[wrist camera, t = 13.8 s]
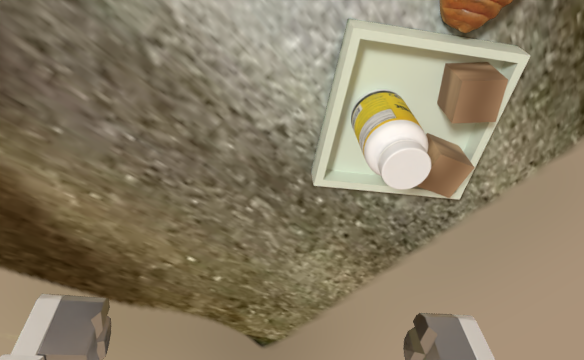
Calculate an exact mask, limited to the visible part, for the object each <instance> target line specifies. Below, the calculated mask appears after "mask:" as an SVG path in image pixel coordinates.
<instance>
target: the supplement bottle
mask: <svg viewBox="0 0 584 360" xmlns="http://www.w3.org/2000/svg"><path fill="white" fill-rule="evenodd" d="M351 124H352V128H353V130H354V133H355V135H356V138H357V140H358V143H359V145H360V147H361V150H362V153H363V155H364V158H365V160H366V162H367V164H368V166H369V167H370V169H371V170H372V171H373V172H375V173H376V174H378V175H380V176H382V179H383V180H384V182H385V183H386V184H387V185H388V186H390V187H392V188H394V189H400V190H404V189H410V188H413V187H415V186H417V185H419V184H420V183H422V182H423V181H424V180H425V179H426V178H427V176H428V174H429V172H430V170H431V159H430V157H429V155H428V153H427V152H428V139H427V136H426V134H425V133H424V130H423V129H422V127H421V126H420V124H419V123H418V121H417V120H416V118H415V117H414V115H413V114H412V112H411V111H410V109H409V108H408V106H407V105H406V103H405V102H404V100H403V99H402V98H401V97H400V96H399V95H398V94H397V93H395V92H393V91H391V90H387V89H377V90H373V91H370V92H368V93H366V94H364V95H363V96H362V97H360V98H359V99H358V100H357V102H356V103H355V105H354V106H353V109H352V112H351Z"/></svg>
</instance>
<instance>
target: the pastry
mask: <svg viewBox="0 0 584 360" xmlns="http://www.w3.org/2000/svg"><path fill="white" fill-rule="evenodd" d="M512 1H513V0H440V13H441V17H442V19H443V21H444V22H445V23H446V24H448V25H449V26H450V27H453V28H455V29H457V30H459V31H460V32H463V33H468V32H470V31H472V30H474V29H478V28H480V27H481V26H482V25H483V24H484V23H486V22H487V21H488V20H490V19H493V18H495V17H496V16H497V15H498V13H499V11H500V10H501V8H503V7H504V6H506V5H508V4H510V3H511V2H512Z"/></svg>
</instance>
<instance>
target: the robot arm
mask: <svg viewBox="0 0 584 360" xmlns="http://www.w3.org/2000/svg"><path fill="white" fill-rule="evenodd" d="M108 311H109V299H108V298H96V297H83V296H70V295H53V294H42V295H41V296H40V297H39V298H38V299H37V301H36V303H35V305H34V307H33V309H32V311H31V313H30V315H29V317H28V319H27V321H26V323H25V326H24V328H23V330H22V332H21V334H20V336H19V338H18V340H17V342H16V344H15V346H14V348H13V351H12V353H11V354H4V355H2V356H1V357H0V360H102V359H104V358H105V357H106V354H107V350H108V346H109V341H110V335H111V319H110V318H109V317H108V316H107V314H108ZM413 323H414V325H415V327H414V328H412V329H411V330H409V331H408V332H407V334H406V337H405V339H404V348H403V349H404V357H405V360H495V358H494V356H493V355H492V352H491V350H490V348H489V346H488V344H487V342H486V340H485V338H484V336H483V334H482V332H481V330H480V328H479V327H478V324H477V322H476V320H475V319H474V318H473V317H472V316H469V315H452V314H430V313H429V314H428V313H419V314H418V315H416V317H415V319H414V321H413Z"/></svg>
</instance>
